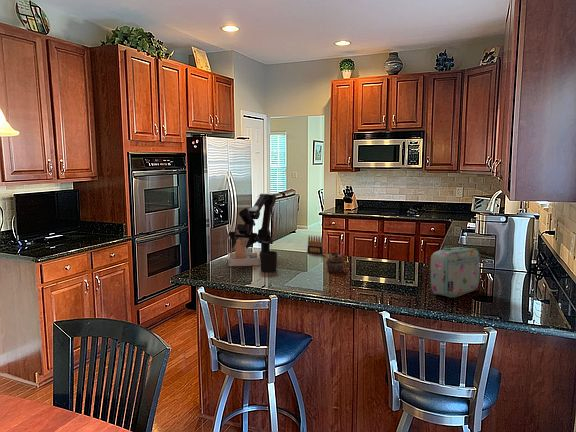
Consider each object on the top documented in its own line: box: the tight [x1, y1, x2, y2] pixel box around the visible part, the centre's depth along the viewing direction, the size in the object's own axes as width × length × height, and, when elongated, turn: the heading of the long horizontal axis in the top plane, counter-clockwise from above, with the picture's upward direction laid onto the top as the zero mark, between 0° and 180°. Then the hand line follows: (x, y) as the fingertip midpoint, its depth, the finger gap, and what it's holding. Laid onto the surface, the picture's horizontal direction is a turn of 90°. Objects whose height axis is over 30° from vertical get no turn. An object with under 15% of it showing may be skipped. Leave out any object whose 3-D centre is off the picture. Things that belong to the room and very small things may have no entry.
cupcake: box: [325, 252, 344, 273], centre depth 238 cm, size 10×10×10 cm
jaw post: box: [234, 238, 246, 259], centre depth 257 cm, size 4×4×13 cm
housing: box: [227, 251, 260, 267], centre depth 259 cm, size 18×18×4 cm
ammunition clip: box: [307, 234, 324, 255], centre depth 284 cm, size 11×2×12 cm, turn 63°
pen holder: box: [259, 250, 278, 273], centre depth 239 cm, size 9×9×10 cm
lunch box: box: [429, 246, 481, 299], centre depth 196 cm, size 27×10×21 cm, turn 126°
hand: (239, 248), depth 256 cm, fingers open, 9 cm apart
